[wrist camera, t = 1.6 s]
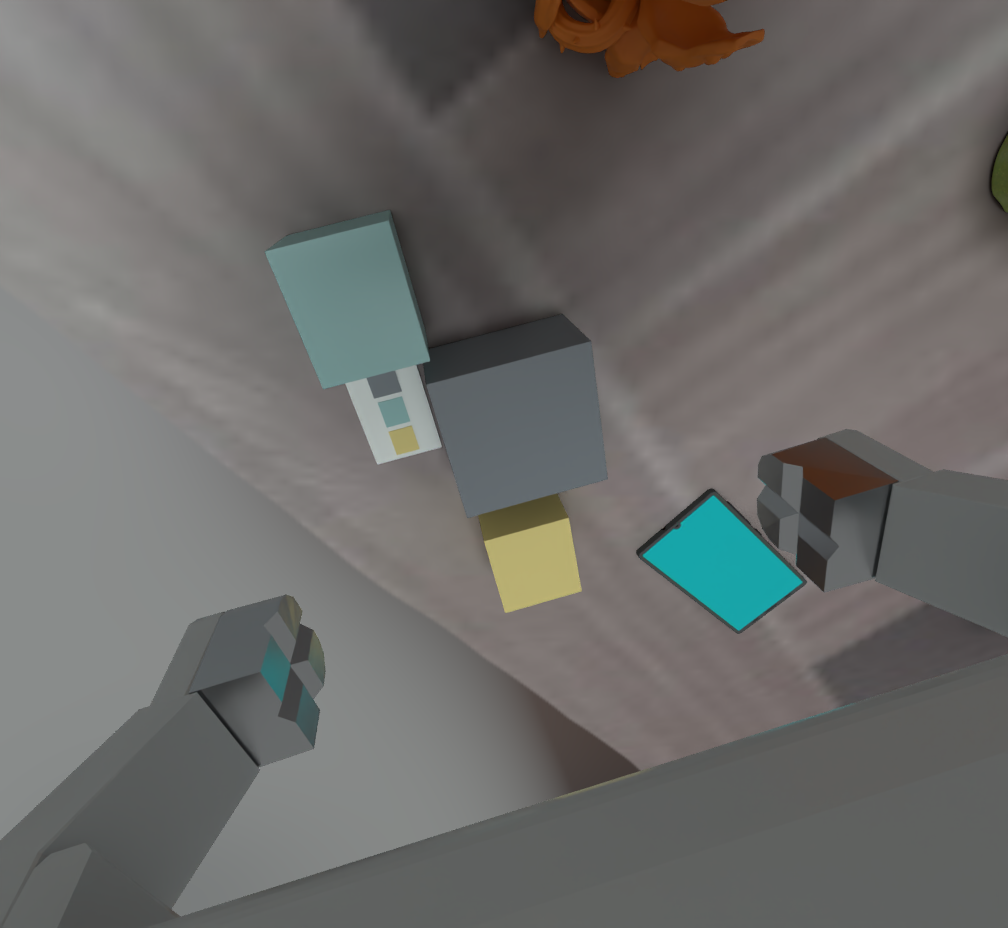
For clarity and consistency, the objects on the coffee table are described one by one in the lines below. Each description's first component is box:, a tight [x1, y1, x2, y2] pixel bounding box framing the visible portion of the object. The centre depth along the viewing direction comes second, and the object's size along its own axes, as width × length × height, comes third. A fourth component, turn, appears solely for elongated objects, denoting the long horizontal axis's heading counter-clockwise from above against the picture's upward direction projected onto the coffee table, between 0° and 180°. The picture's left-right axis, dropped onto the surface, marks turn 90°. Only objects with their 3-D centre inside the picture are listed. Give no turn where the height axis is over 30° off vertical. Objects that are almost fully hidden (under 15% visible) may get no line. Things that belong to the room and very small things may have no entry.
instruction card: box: [345, 365, 442, 465], centre depth 30 cm, size 6×4×1 cm, turn 12°
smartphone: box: [636, 489, 807, 634], centre depth 41 cm, size 7×1×15 cm
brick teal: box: [265, 210, 430, 389], centre depth 24 cm, size 6×5×5 cm
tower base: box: [423, 314, 608, 518], centre depth 29 cm, size 8×8×5 cm
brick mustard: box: [478, 493, 582, 613], centre depth 34 cm, size 6×5×5 cm
